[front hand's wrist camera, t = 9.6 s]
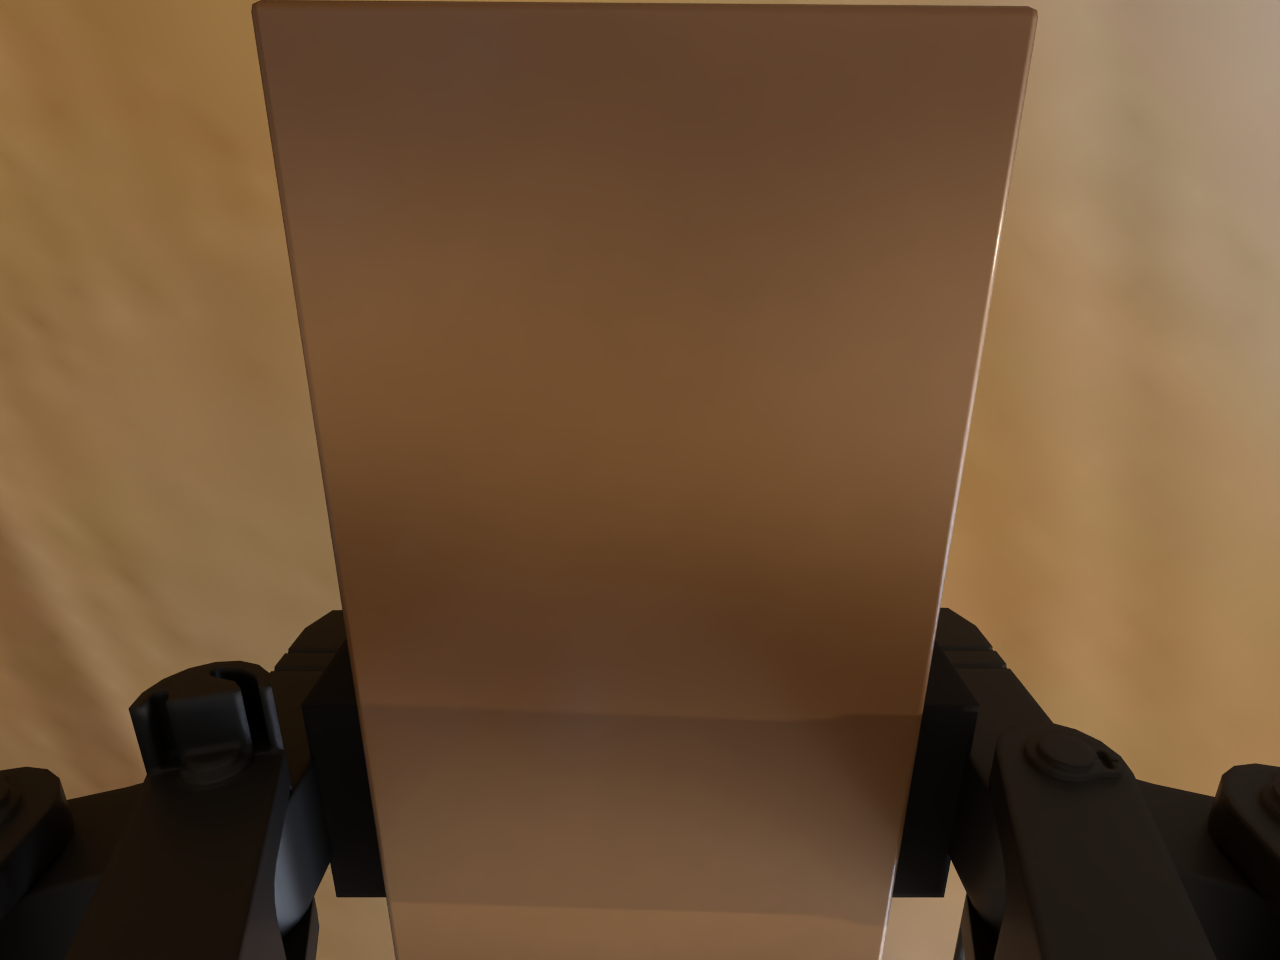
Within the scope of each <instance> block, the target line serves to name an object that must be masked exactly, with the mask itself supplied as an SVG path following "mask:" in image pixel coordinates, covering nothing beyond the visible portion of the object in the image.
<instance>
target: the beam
mask: <svg viewBox="0 0 1280 960" xmlns="http://www.w3.org/2000/svg"><path fill="white" fill-rule="evenodd" d="M251 12H252V19H253V25H254V32H255V38H256V45H257V52H258V58H259V65H260V71H261V78H262V84H263V91H264V97H265V104H266V111H267V117H268V124H269V130H270V137H271V143H272V150H273V157H274V163H275V170H276V176H277V183H278V189H279V196H280V203H281V209H282V216H283V222H284V229H285V235H286V242H287V248H288V255H289V262H290V268H291V275H292V281H293V288H294V294H295V301H296V308H297V314H298V321H299V327H300V334H301V340H302V347H303V353H304V360H305V367H306V373H307V380H308V386H309V393H310V399H311V406H312V413H313V419H314V426H315V432H316V439H317V445H318V452H319V459H320V465H321V472H322V478H323V485H324V491H325V498H326V504H327V511H328V518H329V524H330V531H331V537H332V544H333V550H334V557H335V564H336V570H337V577H338V583H339V590H340V596H341V603H342V610H343V616H344V623H345V629H346V636H347V642H348V649H349V655H350V662H351V669H352V675H353V682H354V688H355V695H356V701H357V708H358V715H359V721H360V728H361V734H362V741H363V747H364V754H365V761H366V767H367V774H368V780H369V787H370V793H371V800H372V806H373V813H374V820H375V826H376V833H377V839H378V846H379V852H380V859H381V866H382V872H383V879H384V885H385V892H386V898H387V905H388V912H389V918H390V925H391V931H392V938H393V944H394V951H395V957H396V960H882V954H883V948H884V942H885V936H886V930H887V924H888V918H889V912H890V906H891V900H892V894H893V888H894V882H895V876H896V870H897V864H898V858H899V852H900V846H901V840H902V834H903V828H904V822H905V816H906V810H907V804H908V798H909V792H910V786H911V780H912V774H913V768H914V762H915V755H916V749H917V743H918V737H919V731H920V725H921V719H922V713H923V707H924V701H925V695H926V689H927V683H928V677H929V671H930V665H931V659H932V653H933V647H934V641H935V635H936V629H937V623H938V617H939V611H940V605H941V599H942V593H943V587H944V581H945V575H946V569H947V563H948V557H949V551H950V545H951V539H952V533H953V527H954V521H955V515H956V508H957V502H958V496H959V490H960V484H961V478H962V472H963V466H964V460H965V454H966V448H967V442H968V436H969V430H970V424H971V418H972V412H973V406H974V400H975V394H976V388H977V382H978V376H979V370H980V364H981V358H982V352H983V346H984V340H985V334H986V328H987V322H988V316H989V310H990V304H991V298H992V292H993V286H994V280H995V274H996V267H997V261H998V255H999V249H1000V243H1001V237H1002V231H1003V225H1004V219H1005V213H1006V207H1007V201H1008V195H1009V189H1010V183H1011V177H1012V171H1013V165H1014V159H1015V153H1016V147H1017V141H1018V135H1019V129H1020V123H1021V117H1022V111H1023V105H1024V99H1025V93H1026V87H1027V81H1028V75H1029V69H1030V63H1031V57H1032V51H1033V45H1034V39H1035V33H1036V26H1037V20H1038V15H1037V10H1035V9H1033V8H1031V7H1028V6H938V5H817V4H695V3H574V2H453V1H331V0H260V1H258V2H256V3H254V4H252V11H251Z"/></svg>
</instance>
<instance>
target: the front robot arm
mask: <svg viewBox="0 0 1280 960" xmlns="http://www.w3.org/2000/svg"><path fill="white" fill-rule="evenodd" d="M288 650H289V651H288V653H285V654H284V656H283V657H282V658H281V659H280V661H279V662H278V663H277V664H276V666H275V670H274V671H271V672H270V673H268V672H267V671H266V670H265V669H263V668H262V667H261V666H260V665H257V664H253V663H248V662H243V661H226V662H214V663H209V664H205V665H201V666H197V667H193V668H189V669H186V670H184V671H181V672H179V673H177V674H174V675H172V676H169V677H167V678H165V679H163V680H161V681H160V682H158V683H157V684H155V685H153V686H152V687H150V688H149V689H147V690H146V691H144V692H143V693H142V694H141V695H140V696H139V697H138V698H137V699H136V701H135V702H134V703H133V704H132V705H131V706H130V707H129V712H130V715H131V719H132V722H133V726H134V730H135V733H136V737H137V740H138V744H139V747H140V751H141V755H142V758H143V762H144V765H145V769H146V772H147V775H146V778H145V780H144V782H143V783H141V784H137V785H133V786H130V787H126V788H121V789H116V790H112V791H107V792H102V793H98V794H93V795H88V796H84V797H79V798H74V799H70V800H66V797H65V794H64V791H63V788H62V784H61V781H60V778H58V777H57V776H56V775H55V774H53V773H52V772H51V771H49V770H48V769H41V768H33V767H21V768H14V769H8V770H1V771H0V960H316V951H317V942H318V934H319V922H318V914H317V908H316V903H315V898H314V895H315V893H316V891H317V889H318V886H319V884H320V882H321V880H322V878H323V876H324V874H325V872H326V869H327V867H328V865H329V863H330V864H331V869H332V875H333V880H334V886H335V891H336V896H337V897H386V892H385V885H384V879H383V872H382V866H381V859H380V852H379V846H378V839H377V833H376V826H375V820H374V813H373V806H372V800H371V793H370V787H369V780H368V774H367V767H366V761H365V754H364V747H363V741H362V734H361V728H360V721H359V715H358V708H357V701H356V695H355V688H354V682H353V675H352V669H351V662H350V655H349V649H348V642H347V636H346V629H345V623H344V616H343V610H332V611H331V612H329V613H328V614H326V615H325V616H323V617H322V618H320V619H319V620H317V621H315V622H314V623H312V624H311V625H309V626H308V627H306V628H305V629H304V630H303V631H302V633H301V634H300V635H299V637H298V638H297V639H296V640H295V642H294V643H293V644H292V645H291V647H290V648H289V649H288ZM951 860H952V863H953V865H954V867H955V869H956V871H957V873H958V875H959V877H960V879H961V882H962V884H963V886H964V888H965V890H966V892H967V893H966V898H965V903H964V908H963V913H962V918H961V923H960V928H959V933H958V938H957V943H956V948H955V953H954V959H953V960H1280V767H1276V766H1269V765H1262V764H1247V765H1238V766H1233V767H1232V768H1231V769H1230V770H1228V771H1227V772H1226V773H1224V774H1223V775H1222V777H1221V780H1220V783H1219V787H1218V790H1217V793H1216V796H1215V797H1212V796H1207V795H1203V794H1198V793H1193V792H1189V791H1184V790H1179V789H1175V788H1170V787H1165V786H1161V785H1156V784H1152V783H1148V782H1145V781H1141V780H1137V779H1136V778H1135V776H1134V774H1133V772H1132V771H1131V770H1130V768H1129V767H1128V766H1127V764H1126V763H1125V762H1124V760H1123V759H1122V757H1121V756H1119V755H1118V754H1117V753H1116V752H1114V751H1113V750H1112V749H1110V748H1109V747H1108V746H1106V745H1105V744H1104V743H1102V742H1101V741H1099V740H1097V739H1095V738H1093V737H1091V736H1089V735H1087V734H1084V733H1082V732H1080V731H1078V730H1076V729H1072V728H1069V727H1065V726H1061V725H1057V724H1054V723H1053V722H1052V721H1051V720H1050V718H1049V717H1048V716H1047V715H1046V713H1045V712H1044V711H1043V710H1042V708H1041V707H1040V706H1039V705H1038V703H1037V702H1036V701H1035V700H1034V698H1033V697H1032V696H1031V695H1030V693H1029V692H1028V691H1027V690H1026V688H1025V687H1024V686H1023V685H1022V683H1021V682H1020V681H1019V680H1018V678H1017V677H1016V676H1015V674H1014V673H1013V672H1012V671H1011V669H1007V668H1006V663H1005V662H1004V661H1003V659H1002V658H1001V657H1000V656H999V654H998V653H997V652H996V651H993V649H992V646H991V644H990V643H989V642H988V641H987V639H986V638H985V637H984V636H983V634H982V633H981V632H980V630H979V629H978V628H977V627H976V626H975V625H974V624H972V623H971V622H969V621H967V620H966V619H964V618H963V617H961V616H960V615H958V614H957V613H955V612H954V611H952V610H950V609H949V608H940V611H939V617H938V623H937V629H936V635H935V641H934V647H933V653H932V659H931V665H930V671H929V677H928V683H927V689H926V695H925V701H924V707H923V713H922V719H921V725H920V731H919V737H918V743H917V749H916V755H915V762H914V768H913V774H912V780H911V786H910V792H909V798H908V804H907V810H906V816H905V822H904V828H903V834H902V840H901V846H900V852H899V858H898V864H897V870H896V876H895V882H894V888H893V894H892V897H944V894H945V888H946V883H947V877H948V872H949V867H950V861H951Z"/></svg>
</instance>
